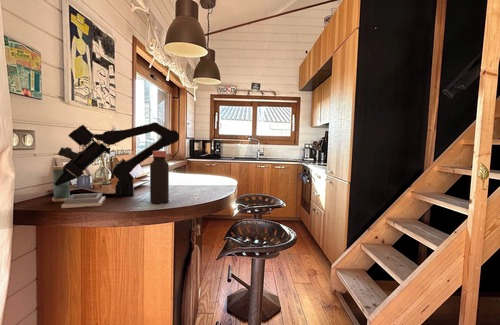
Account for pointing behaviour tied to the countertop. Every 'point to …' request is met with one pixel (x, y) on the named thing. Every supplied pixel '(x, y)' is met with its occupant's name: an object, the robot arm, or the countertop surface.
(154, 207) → the countertop surface
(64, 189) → the bobbin
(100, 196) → the grey flat square tray
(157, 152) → the bottle
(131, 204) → the countertop surface
